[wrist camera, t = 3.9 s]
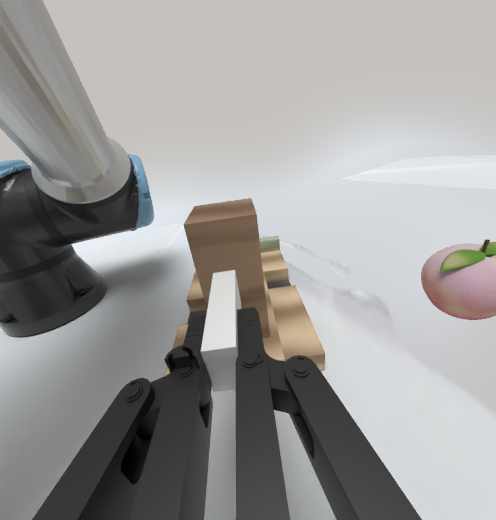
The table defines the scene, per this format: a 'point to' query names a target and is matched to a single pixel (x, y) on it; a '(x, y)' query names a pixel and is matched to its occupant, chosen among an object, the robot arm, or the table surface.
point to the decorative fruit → (462, 280)
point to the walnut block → (229, 251)
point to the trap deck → (272, 311)
